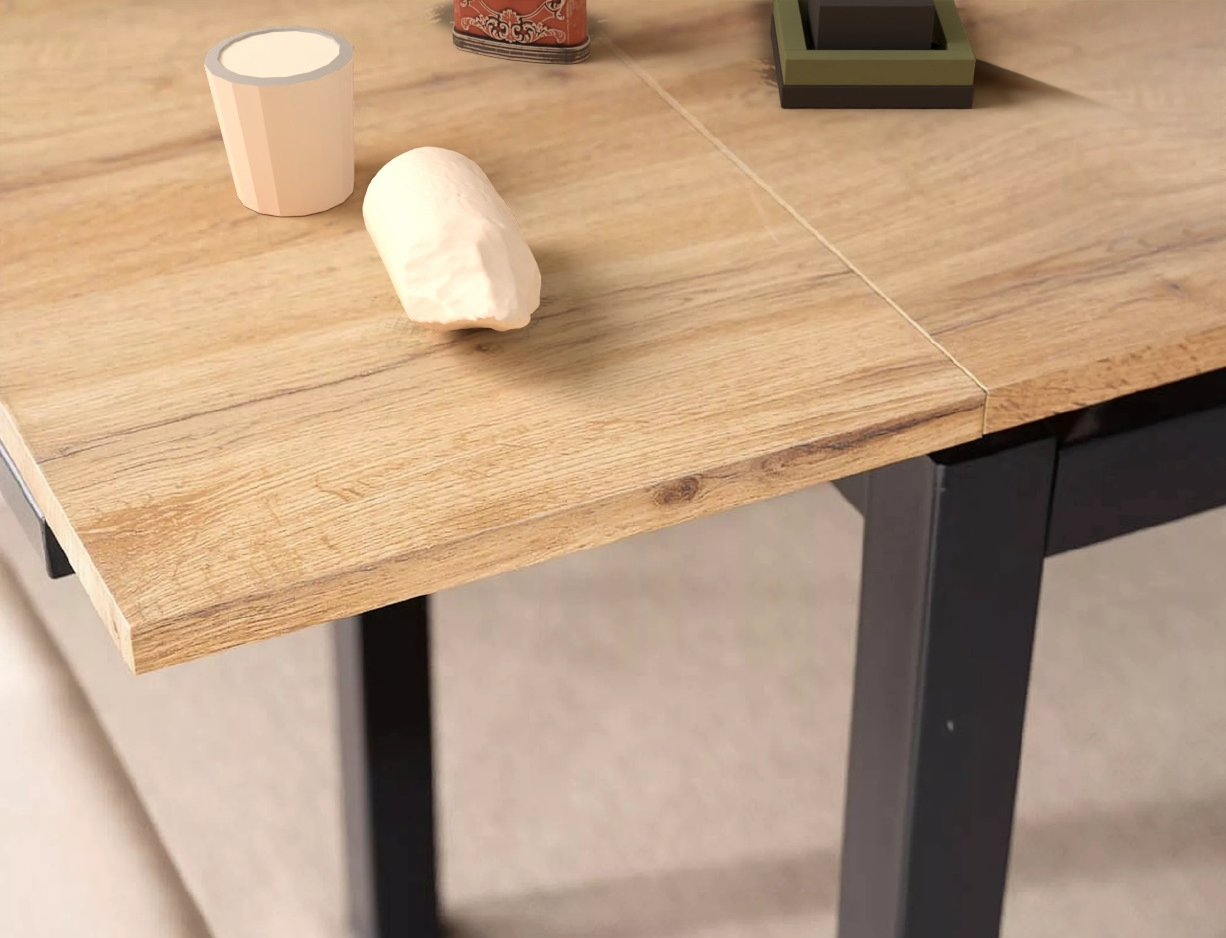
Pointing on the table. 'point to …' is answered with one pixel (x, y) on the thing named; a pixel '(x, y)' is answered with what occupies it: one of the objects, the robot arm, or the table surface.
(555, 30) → the red decorated tin
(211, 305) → the table surface
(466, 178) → the roll
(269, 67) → the peach cup
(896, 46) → the black block
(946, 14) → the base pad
